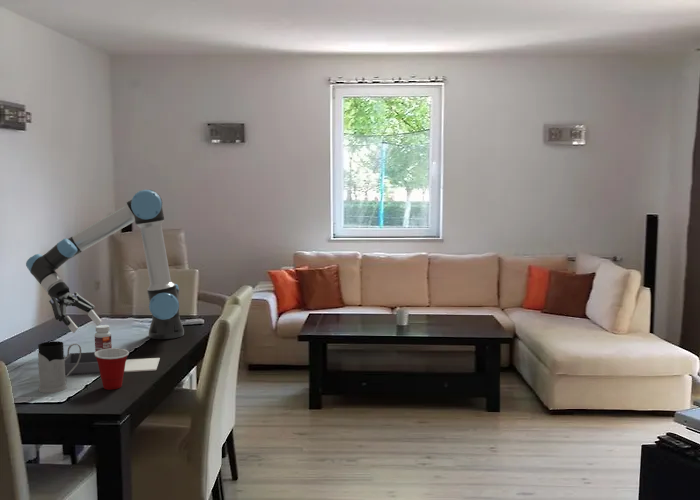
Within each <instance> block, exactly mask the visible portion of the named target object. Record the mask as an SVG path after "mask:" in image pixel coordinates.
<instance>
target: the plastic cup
mask: <svg viewBox="0 0 700 500" xmlns="http://www.w3.org/2000/svg"><path fill="white" fill-rule="evenodd" d="M94 352H95V351H94ZM94 354H95V356H96V358H97V362H98V366H99V371H100V374H99V375H100V379H101V382H102V383H101V384H102V386H103V389H104V390H108V391H109V390H117V389H120V388H122V387H123V381H124V376H125V375H124V374H125V372H124V370H125V363H126V360H127V359H128V356H129V354H130V352H129V350H127V349H126V348H125V349H123V348H117V347H115V348H113V347H112V348H109V349H102V350H99V351H96V352H95V353H94Z"/></svg>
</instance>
